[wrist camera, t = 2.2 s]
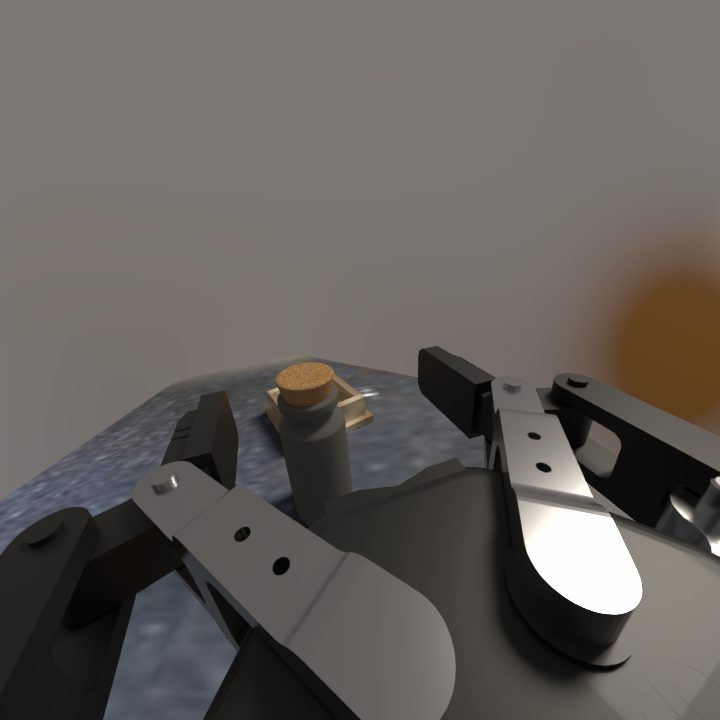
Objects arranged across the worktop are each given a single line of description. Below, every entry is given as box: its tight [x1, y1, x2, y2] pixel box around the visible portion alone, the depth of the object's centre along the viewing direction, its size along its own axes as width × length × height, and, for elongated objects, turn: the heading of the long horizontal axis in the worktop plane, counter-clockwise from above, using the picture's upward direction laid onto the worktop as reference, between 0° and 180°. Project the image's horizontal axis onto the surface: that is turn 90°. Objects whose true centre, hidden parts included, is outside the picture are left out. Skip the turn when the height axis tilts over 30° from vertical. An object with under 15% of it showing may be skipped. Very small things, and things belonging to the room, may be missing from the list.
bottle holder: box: [265, 374, 373, 433], centre depth 43 cm, size 12×12×4 cm
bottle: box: [276, 363, 352, 526], centre depth 27 cm, size 6×6×15 cm
